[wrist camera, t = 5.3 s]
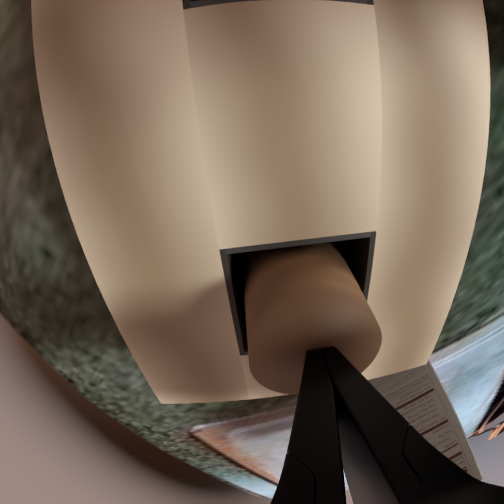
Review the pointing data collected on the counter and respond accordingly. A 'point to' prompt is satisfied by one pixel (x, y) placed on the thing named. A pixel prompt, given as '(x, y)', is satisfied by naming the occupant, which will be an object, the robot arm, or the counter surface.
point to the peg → (303, 312)
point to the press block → (264, 162)
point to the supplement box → (429, 412)
